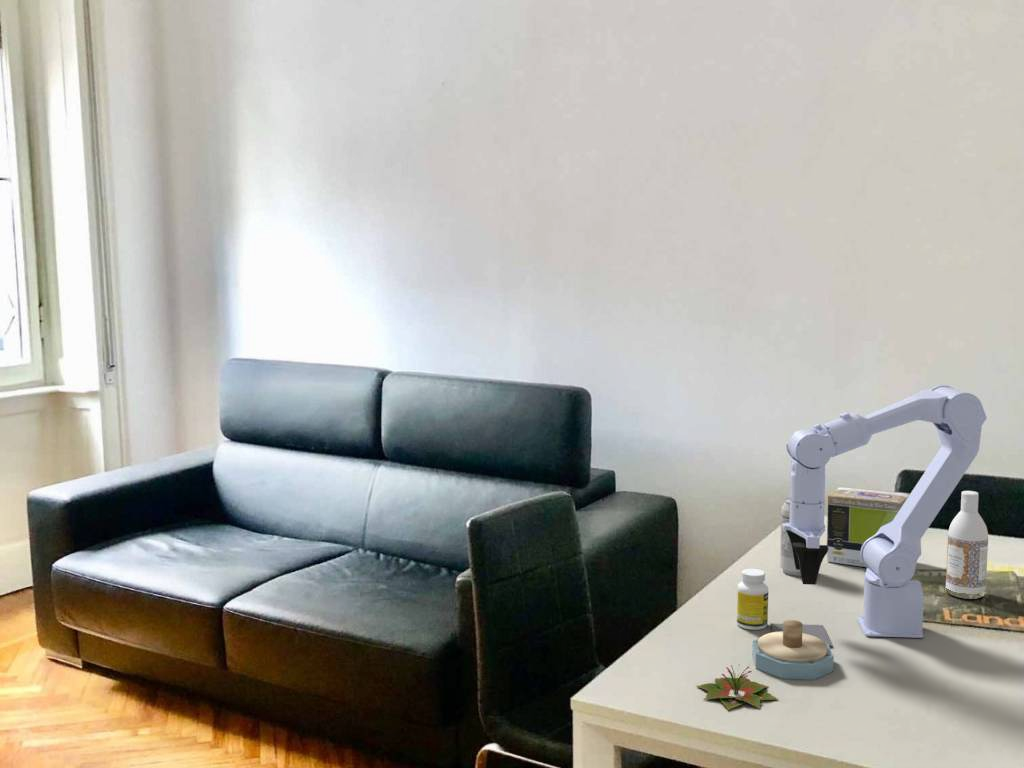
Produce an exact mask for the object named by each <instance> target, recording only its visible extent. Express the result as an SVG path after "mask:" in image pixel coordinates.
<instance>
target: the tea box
mask: <svg viewBox="0 0 1024 768" xmlns="http://www.w3.org/2000/svg"><path fill="white" fill-rule="evenodd" d="M910 494H911V492H909V493H908V492H901V491H899V492H898V491H890V490H881V489H869V488H868V489H867V488H860V487H849V486H839V487H837V488H836V489H835V490H834V491H832V492H831V493H830V494H828V495H827V516H826V517H827V522H826V523H827V527H826V530H827V531H826V545H827V546H828V552H827V554H826V561H827V562H828V563H834V564H842V565H847V566H849V565H850V566H856V567H863V568H867V566H866V565H865V564H864V563H863V561H862V559H861V555H860V552H861V547H862V545H863V544H864V542H865V541H866V540H867V539H869V538H870V537H872V536H874V535H875V534H876V533H877V532H878V530H879V529H880V527H882V526H884V525H886V524H888V523H890V522H892V521H893V519H894V518H895V516H896V515H897V513H898V512H899V510H900V509H901V507H902V506H903V504H904V503H905V501H906V500H907V498H908V497H909V495H910Z"/></svg>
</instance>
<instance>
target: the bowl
mask: <svg viewBox="0 0 1024 768" xmlns="http://www.w3.org/2000/svg"><path fill="white" fill-rule="evenodd" d="M758 640H759V638H758V639H755V640H752V659H753V663H755V664H754V667H756V668H755V669H756V670H759V671H762V672H764V673H766V674H769V675H772V676H774V677H776V678H779V679H783V680H785V679H786V680H806V681H807V680H808V681H809V680H810V681H811V680H813V681H815V680H817V679H819V678H821V677H823V676H826V675H828V674H830V673H833V672H834V660H835V659H834V658H835V657H834V654H833V652H832V650H831V649H832V648H830V647H829V645H828V644H827V643H826V645H827V655H826V656H825V657H823V658H822V659H819V660H816V661H811V662H788V661H782V660H778V659H775V658H772V657H769V656H767V655H765V654H764V653H762V652H761V651H760V650H759V648H758Z"/></svg>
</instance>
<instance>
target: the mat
mask: <svg viewBox="0 0 1024 768" xmlns="http://www.w3.org/2000/svg"><path fill="white" fill-rule="evenodd" d="M802 624H803V626H802V633H804V634H808V635H812V636H815V637H817V638H819V639H821V640H822V641H824V642H825V643H827V644H828V645H829V647H830V649H832V648H833V644H832V642H831V640H830V638H829V635H828V633H827V631H826V629H825V627H824V624H807V623H806V624H804V623H802ZM770 628H771V633H772V632H781V631H783V623H770Z"/></svg>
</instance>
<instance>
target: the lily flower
mask: <svg viewBox="0 0 1024 768" xmlns="http://www.w3.org/2000/svg"><path fill="white" fill-rule="evenodd" d="M738 666H740V663H738ZM730 667H731V668H732V671H731V669H730V668H729V666H727V667H725V668H726V670H727V672H728V673H729V675H730V676H729V677H727V676H726V674H725V673H721V676H722V677H721V678H718V677H717V678H716V677H715V679H714V683H711V682H710V683H707V682H706V683H704V684H700V685H696V687H698V688H699V689H700V688H701V689H702V690H704V691H707V694H706V696H705V697H704V698H703V701H705V700H712V699H720V702H721V703H722V704H723V707H725V708H726V710H727V711H729V710H732V709H733V708H735V707H739V706H740V705H741V706H742V705H743V704H745V702H746V703H748V704H749V705H752V706H754V707H756V708H757V709H759V710H761V708H760V707H761V703H760V701H766V700H767V701H769V700H771V701H773V700H776V701H777V700H780V699H779V698H777V697H776V696H774V695H772V694H771V693H769V692H767V691H763V690H764V689H765V688H769V685H765V684H762V683H759V682H757V681H751V680H750V678H747V677H749V676H748V675H747V674H750V673H752V672H753V671H752V670H749V671H747V670H748V669H749V668H750V665H749V666H747V667H746V668H745V669H744V670H743V671H742V673H741V674H737V675H736V674H735V670H734V668H733V665H732V664H730ZM737 671H739V668H738V670H737ZM745 671H747V672H746V673H745ZM731 691H733V694H734V695H738V694H739V691H740V692H744V694H743V696H742V697H739V696H733V695H729V694H730V692H731ZM733 698H734V699H735V700H738V701H735V702H732V701H731V700H730V699H733Z"/></svg>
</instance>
